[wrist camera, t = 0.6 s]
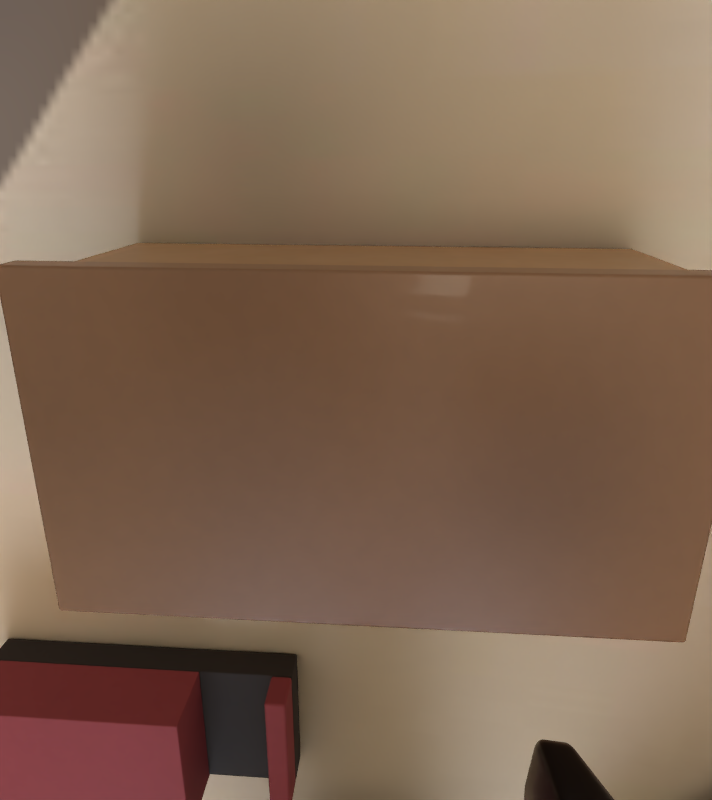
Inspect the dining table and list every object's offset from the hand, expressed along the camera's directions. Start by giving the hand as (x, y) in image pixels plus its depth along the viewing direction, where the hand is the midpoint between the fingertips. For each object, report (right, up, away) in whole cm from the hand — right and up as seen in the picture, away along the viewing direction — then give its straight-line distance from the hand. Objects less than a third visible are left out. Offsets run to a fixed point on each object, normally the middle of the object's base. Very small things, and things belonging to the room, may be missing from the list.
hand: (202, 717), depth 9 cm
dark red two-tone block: (-6, -8, +18) cm, 21 cm away
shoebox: (+3, +5, +13) cm, 14 cm away
